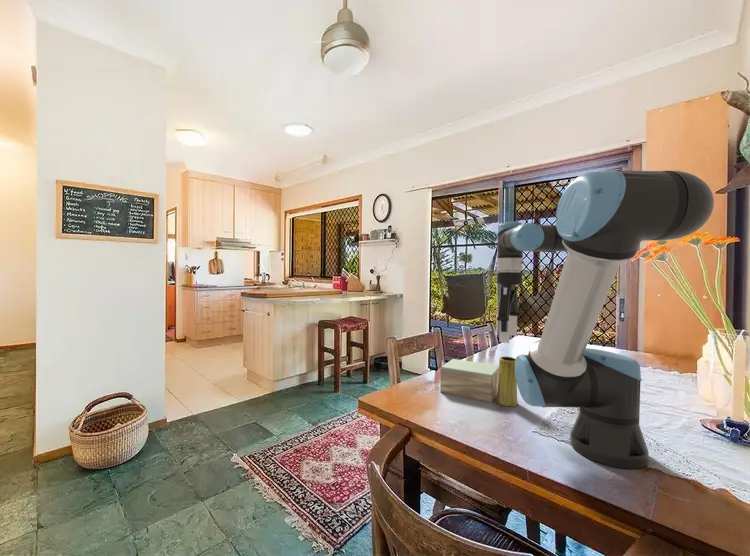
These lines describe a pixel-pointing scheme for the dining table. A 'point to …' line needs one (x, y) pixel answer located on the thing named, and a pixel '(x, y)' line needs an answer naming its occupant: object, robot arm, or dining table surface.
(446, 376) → the box
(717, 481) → the dining table surface
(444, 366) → the lid
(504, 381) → the vase
